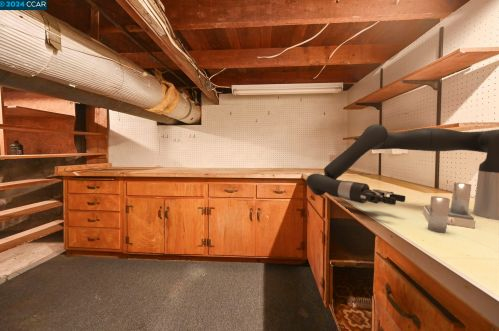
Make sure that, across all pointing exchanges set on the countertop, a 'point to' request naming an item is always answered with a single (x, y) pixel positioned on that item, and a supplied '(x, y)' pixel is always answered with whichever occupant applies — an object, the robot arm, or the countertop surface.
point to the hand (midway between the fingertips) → (400, 200)
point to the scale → (454, 218)
